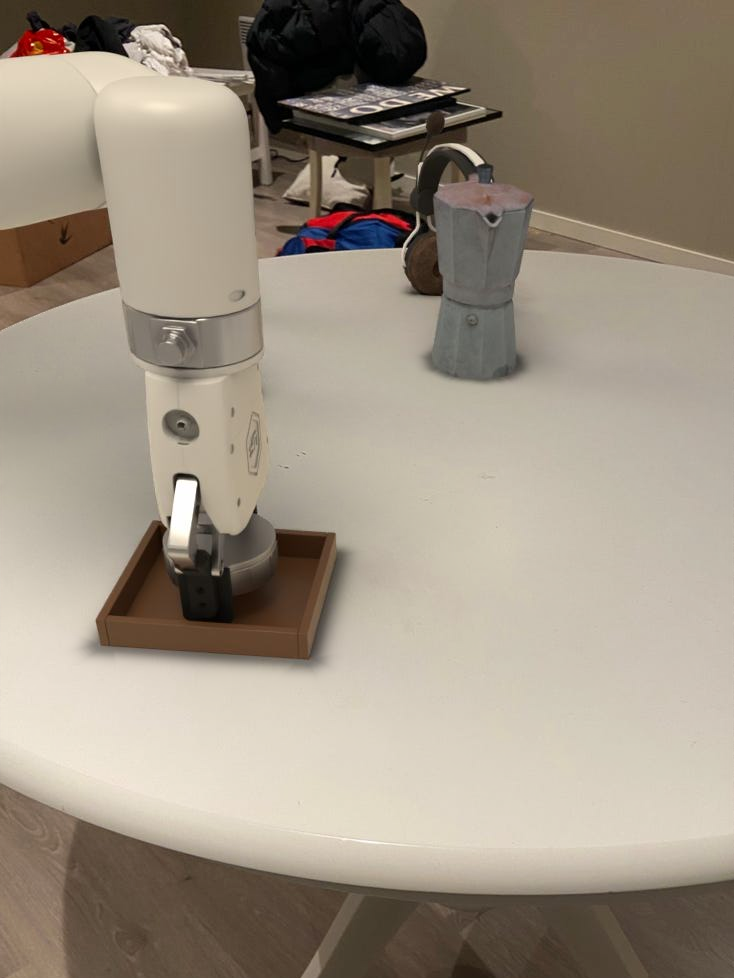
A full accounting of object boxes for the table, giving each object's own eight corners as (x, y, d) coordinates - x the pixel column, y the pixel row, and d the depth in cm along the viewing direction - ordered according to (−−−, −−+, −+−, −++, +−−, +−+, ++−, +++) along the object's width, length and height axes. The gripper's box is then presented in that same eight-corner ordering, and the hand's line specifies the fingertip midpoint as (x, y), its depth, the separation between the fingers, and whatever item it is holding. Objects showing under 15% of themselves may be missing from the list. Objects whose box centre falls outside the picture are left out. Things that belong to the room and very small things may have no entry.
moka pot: (438, 398, 97) (447, 179, 85) (414, 339, 109) (419, 140, 96) (532, 395, 99) (554, 181, 87) (499, 338, 111) (513, 142, 98)
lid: (286, 542, 69) (284, 512, 67) (265, 601, 63) (263, 570, 62) (183, 534, 69) (179, 504, 67) (153, 593, 63) (148, 562, 62)
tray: (101, 652, 63) (94, 619, 61) (157, 550, 73) (152, 519, 71) (308, 666, 63) (307, 634, 61) (337, 562, 73) (336, 532, 71)
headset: (386, 287, 122) (387, 106, 110) (439, 279, 126) (446, 103, 113) (460, 333, 111) (471, 138, 99) (516, 324, 115) (533, 134, 102)
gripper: (225, 396, 49) (251, 670, 60) (289, 283, 63) (301, 523, 74) (74, 384, 49) (128, 661, 60) (172, 274, 63) (201, 515, 74)
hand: (223, 583), depth 67 cm, fingers closed on lid, 7 cm apart
